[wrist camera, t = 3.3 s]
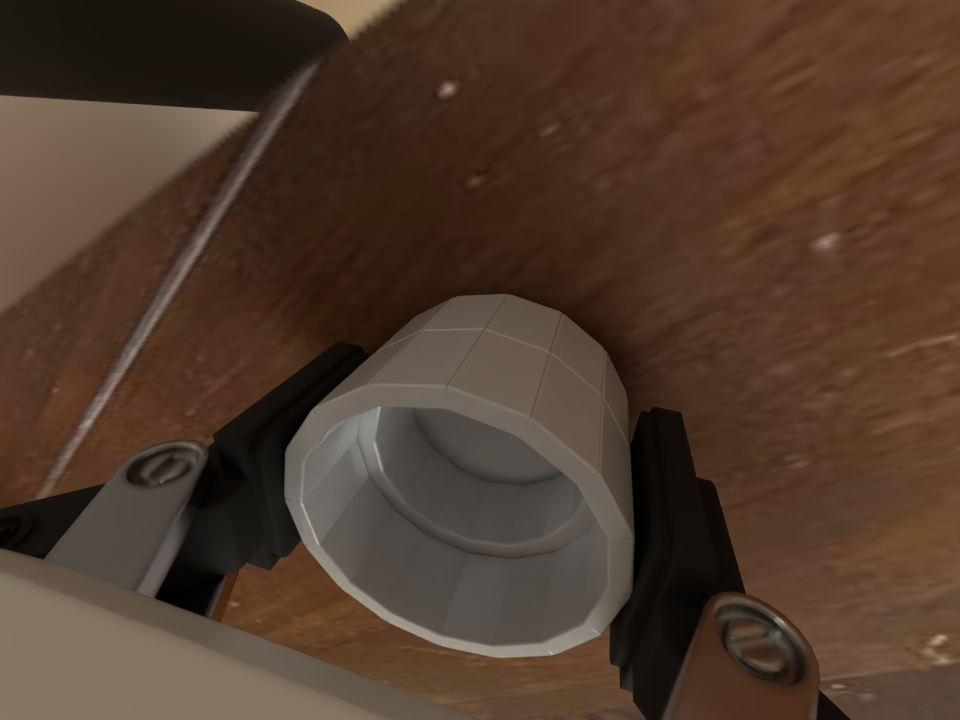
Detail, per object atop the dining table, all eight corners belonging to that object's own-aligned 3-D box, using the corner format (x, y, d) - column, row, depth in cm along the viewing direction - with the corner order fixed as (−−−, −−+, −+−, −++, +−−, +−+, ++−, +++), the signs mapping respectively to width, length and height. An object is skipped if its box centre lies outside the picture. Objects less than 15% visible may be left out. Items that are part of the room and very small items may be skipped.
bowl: (378, 446, 13) (280, 575, 9) (411, 252, 10) (285, 325, 6) (573, 525, 12) (555, 699, 9) (674, 342, 9) (716, 487, 6)
